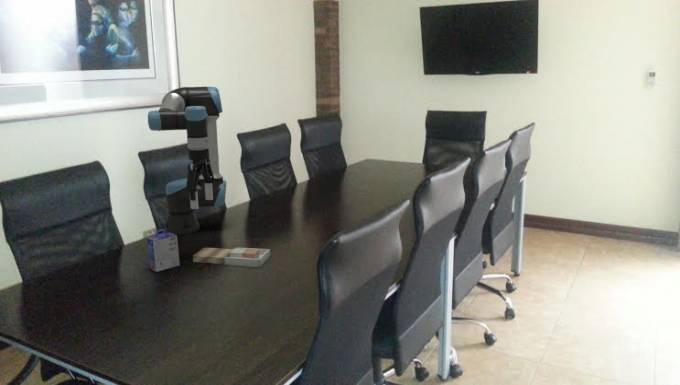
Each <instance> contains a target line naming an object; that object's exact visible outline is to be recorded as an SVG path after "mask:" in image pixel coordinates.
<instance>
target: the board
mask: <svg viewBox="0 0 680 385" xmlns="http://www.w3.org/2000/svg"><path fill="white" fill-rule="evenodd" d="M233 249H234V248H233ZM233 249H232V248H217V247H203V248H201V249H200V250H199V251H197V252H195V254H193V255H192V261H193V262H192V263H203V264H204V263H205V264H219V265H225V257H230V252H231V251H232V250H233Z"/></svg>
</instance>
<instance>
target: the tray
mask: <svg viewBox="0 0 680 385" xmlns="http://www.w3.org/2000/svg"><path fill="white" fill-rule="evenodd" d="M235 248H238V249H254V250H259V258H258V259H251V258H235V257H225V264H224V266H233V267H234V266H235V267H246V268H248V267H249V268H261V267H262V266H263V265H264V264H265V263H266V262H267V261H268V260H269V259H270V258H271V249H270V248H269V249H267V248H254V247H253V248H250V247H239V246H237V247H235Z"/></svg>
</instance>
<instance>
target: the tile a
mask: <svg viewBox="0 0 680 385" xmlns="http://www.w3.org/2000/svg"><path fill="white" fill-rule="evenodd" d="M238 248H239V247H238ZM238 248H236V247H234V248H233V250H232V251H231V252H230V257H235V258H242V253H243V252H244V251H245V250H246V249H238Z"/></svg>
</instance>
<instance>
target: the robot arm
mask: <svg viewBox="0 0 680 385" xmlns="http://www.w3.org/2000/svg"><path fill="white" fill-rule="evenodd" d="M222 113H223V106H222V100H221V94H220V91H219V89H218V87H217V86H208V85H207V86H183V87H178V88H175V89H172V90H171V91H168V92H167V93H165V95H164V96H163V97H162V100H161V106H160V107H159V109H158V110H150V111H148V114H147V125H148V128H149V130H151V131H152V132H153V131H156V132H157V131H158V132H161V131H186V141H187V143H186V144H187V148H188V150H187V153H188V159H189V160H190V161H192V163H191V164H190V163H189V164H188V165H187V166H188V172H187V177H186V178H181V179H177V180H173V181H170V182H168V183H167V184H166V186H165V195H166V196H165V197H166V206H167V218H166V222H165V226H164V230H165V232H166V234H167V233H173V234H176V235H177V236H181V235H183V236H184V235H188V234H189V235H190V234H193V233H196V232H198V231H199V230H200V223H199V221H198V218H197V216H196V213H195V210H199V208H211V207H213V208H215V207H222V206H224V205H225V203H226V193H227V180H225V179H224V176H223V175H221V173H220V164H219V163H220V162H219V161H220V160H219V146H218V144H219V143H218V129H217V128H218V126H217V120H218V119H219V118H220V116H221V115H220V114H222Z"/></svg>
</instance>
